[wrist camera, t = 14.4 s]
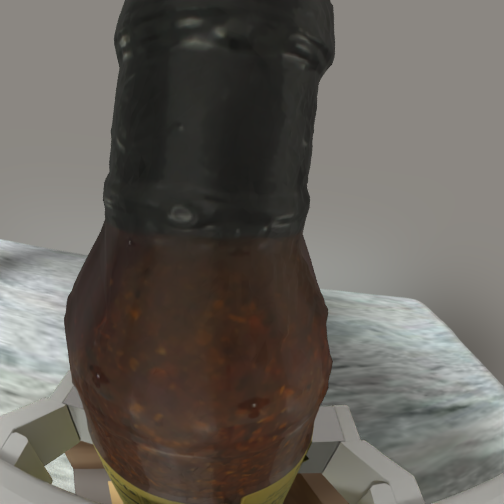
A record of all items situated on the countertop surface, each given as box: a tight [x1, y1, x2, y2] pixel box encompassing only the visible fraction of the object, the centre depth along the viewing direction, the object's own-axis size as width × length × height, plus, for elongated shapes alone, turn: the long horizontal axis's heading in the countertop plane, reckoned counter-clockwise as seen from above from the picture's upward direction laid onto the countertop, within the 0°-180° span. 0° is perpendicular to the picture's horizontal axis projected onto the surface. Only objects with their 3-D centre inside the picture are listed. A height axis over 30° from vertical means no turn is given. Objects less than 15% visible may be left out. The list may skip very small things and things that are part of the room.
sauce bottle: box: [64, 0, 335, 504], centre depth 8 cm, size 7×6×20 cm
